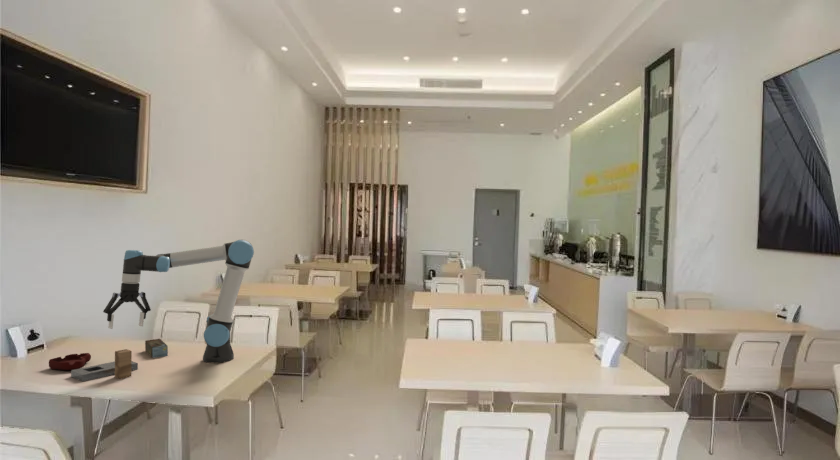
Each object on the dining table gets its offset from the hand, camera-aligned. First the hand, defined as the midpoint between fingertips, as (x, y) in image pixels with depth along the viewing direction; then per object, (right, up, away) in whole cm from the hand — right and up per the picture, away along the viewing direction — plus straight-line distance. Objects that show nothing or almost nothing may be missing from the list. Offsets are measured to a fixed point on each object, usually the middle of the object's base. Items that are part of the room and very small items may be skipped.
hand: (126, 327), depth 238 cm
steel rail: (-10, -22, 0) cm, 24 cm away
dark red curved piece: (-33, -22, +8) cm, 41 cm away
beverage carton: (-5, -22, +37) cm, 43 cm away
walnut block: (+2, -22, -6) cm, 23 cm away
